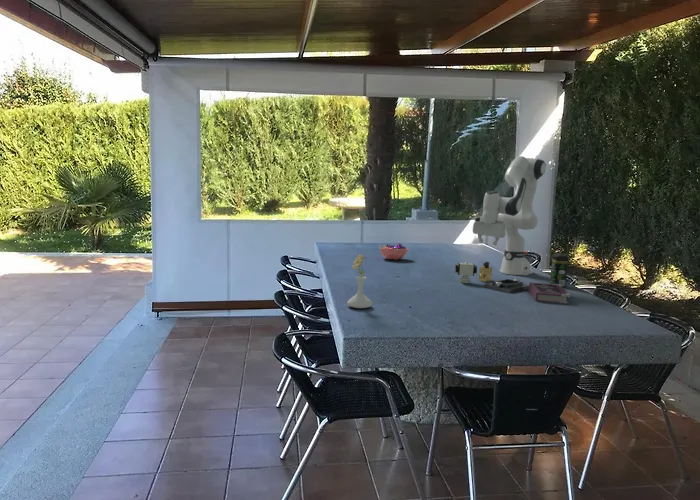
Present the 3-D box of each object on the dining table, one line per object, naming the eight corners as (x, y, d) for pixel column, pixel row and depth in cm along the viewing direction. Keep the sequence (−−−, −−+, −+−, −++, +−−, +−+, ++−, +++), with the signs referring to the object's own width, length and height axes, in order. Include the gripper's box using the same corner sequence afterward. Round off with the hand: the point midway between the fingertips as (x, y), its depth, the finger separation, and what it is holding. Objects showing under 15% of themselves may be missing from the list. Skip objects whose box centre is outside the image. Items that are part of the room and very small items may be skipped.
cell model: (376, 257, 400) (377, 240, 398) (405, 257, 402) (406, 241, 401) (380, 261, 383) (381, 244, 382) (410, 262, 386) (411, 245, 384)
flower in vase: (347, 303, 268) (349, 250, 264) (371, 304, 268) (374, 251, 264) (346, 310, 255) (348, 255, 251) (372, 311, 255) (374, 256, 251)
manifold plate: (505, 283, 329) (505, 275, 328) (530, 288, 317) (530, 281, 316) (484, 287, 316) (484, 279, 315) (509, 293, 304) (510, 285, 303)
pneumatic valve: (475, 284, 324) (477, 263, 322) (454, 283, 324) (456, 262, 322) (474, 282, 329) (475, 261, 327) (453, 281, 329) (455, 260, 328)
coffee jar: (547, 283, 333) (550, 252, 330) (561, 284, 333) (564, 252, 330) (553, 287, 324) (556, 254, 321) (567, 288, 324) (570, 255, 321)
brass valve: (485, 279, 339) (487, 260, 337) (493, 280, 335) (494, 262, 334) (476, 280, 333) (478, 262, 331) (483, 282, 329) (485, 263, 328)
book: (569, 305, 286) (570, 295, 285) (535, 302, 288) (536, 292, 287) (559, 293, 310) (560, 284, 310) (528, 291, 313) (529, 282, 312)
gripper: (508, 221, 323) (506, 245, 325) (478, 217, 338) (476, 240, 340) (502, 221, 319) (500, 246, 321) (472, 217, 334) (470, 241, 336)
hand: (487, 243), depth 331 cm, fingers open, 8 cm apart
